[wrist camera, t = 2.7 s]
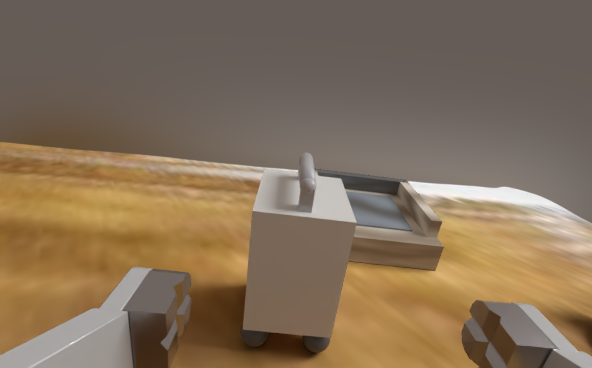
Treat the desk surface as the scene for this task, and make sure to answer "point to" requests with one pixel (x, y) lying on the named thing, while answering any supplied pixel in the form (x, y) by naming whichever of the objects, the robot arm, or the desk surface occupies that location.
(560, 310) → the desk surface
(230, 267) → the desk surface
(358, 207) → the dock
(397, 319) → the desk surface
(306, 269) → the trolley
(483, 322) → the robot arm
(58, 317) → the desk surface
